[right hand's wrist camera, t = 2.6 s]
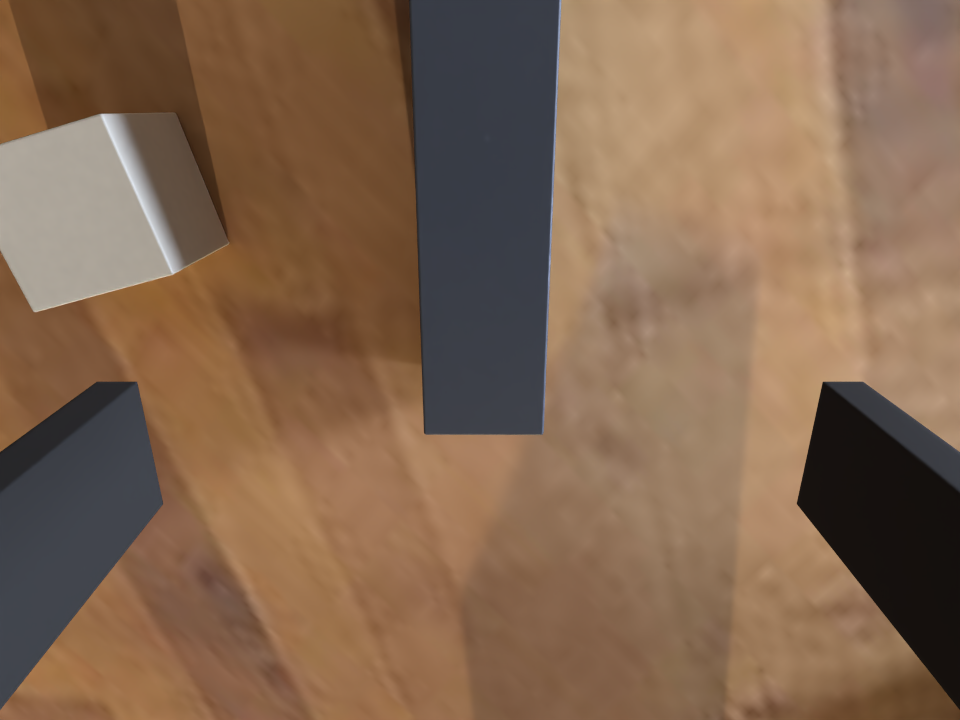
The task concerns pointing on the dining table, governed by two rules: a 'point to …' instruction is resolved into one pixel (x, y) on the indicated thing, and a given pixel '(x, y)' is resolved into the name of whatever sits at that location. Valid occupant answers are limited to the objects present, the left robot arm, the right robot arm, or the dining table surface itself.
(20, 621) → the right robot arm
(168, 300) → the dining table surface
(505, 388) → the bar
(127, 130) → the cream block
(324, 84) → the dining table surface
